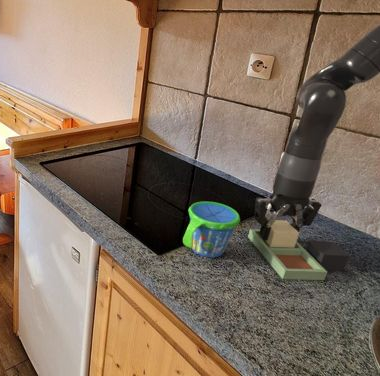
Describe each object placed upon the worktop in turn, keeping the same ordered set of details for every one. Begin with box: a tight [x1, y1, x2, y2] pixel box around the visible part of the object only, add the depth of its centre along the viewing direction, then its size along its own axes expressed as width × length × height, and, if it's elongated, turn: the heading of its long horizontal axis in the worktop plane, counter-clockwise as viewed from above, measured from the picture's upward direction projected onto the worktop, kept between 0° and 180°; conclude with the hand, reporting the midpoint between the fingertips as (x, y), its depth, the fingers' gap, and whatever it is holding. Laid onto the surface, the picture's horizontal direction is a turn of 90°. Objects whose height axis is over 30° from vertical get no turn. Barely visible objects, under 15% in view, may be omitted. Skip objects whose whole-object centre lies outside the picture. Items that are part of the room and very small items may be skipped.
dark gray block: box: [305, 240, 350, 272], centre depth 90 cm, size 6×6×4 cm
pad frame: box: [247, 228, 328, 281], centre depth 92 cm, size 9×17×2 cm, turn 179°
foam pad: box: [265, 219, 300, 248], centre depth 95 cm, size 6×6×4 cm
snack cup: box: [182, 201, 241, 259], centre depth 93 cm, size 16×10×10 cm
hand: (276, 238), depth 95 cm, fingers closed on foam pad, 5 cm apart
